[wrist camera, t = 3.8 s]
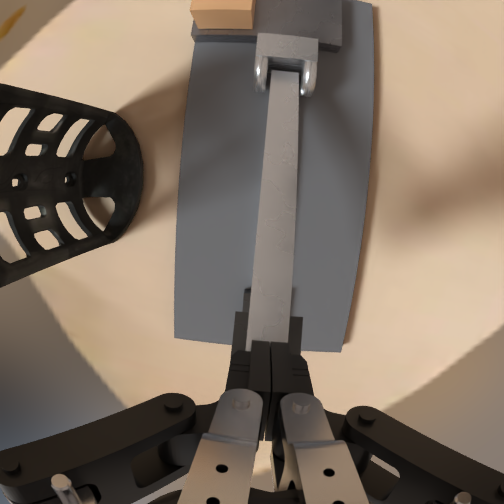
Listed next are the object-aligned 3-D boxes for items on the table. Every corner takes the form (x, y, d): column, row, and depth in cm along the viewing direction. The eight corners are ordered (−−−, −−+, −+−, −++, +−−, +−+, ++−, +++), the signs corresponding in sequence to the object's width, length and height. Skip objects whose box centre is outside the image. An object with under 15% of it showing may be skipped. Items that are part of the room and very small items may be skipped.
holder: (154, 241, 25) (-76, 352, 5) (82, 248, 26) (-114, 329, 6) (140, 106, 23) (-86, 32, 3) (69, 128, 24) (-130, 112, 4)
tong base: (203, -5, 20) (195, -27, 16) (337, 4, 19) (346, -16, 16) (174, 316, 25) (162, 334, 22) (310, 329, 25) (316, 350, 22)
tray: (207, -8, 20) (205, -14, 19) (368, 9, 20) (371, 3, 19) (177, 332, 27) (174, 337, 26) (338, 346, 26) (340, 352, 25)
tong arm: (262, 79, 20) (262, 69, 19) (305, 84, 20) (307, 74, 19) (228, 387, 14) (227, 389, 13) (293, 391, 14) (296, 394, 13)
